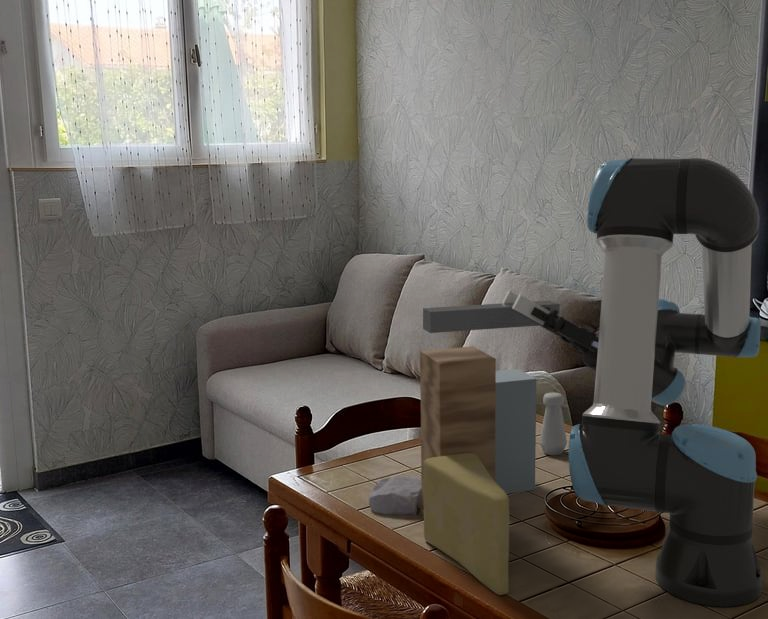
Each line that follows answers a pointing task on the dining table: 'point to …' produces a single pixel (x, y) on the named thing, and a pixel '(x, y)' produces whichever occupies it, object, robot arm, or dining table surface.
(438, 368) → the walnut stand
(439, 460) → the cheese
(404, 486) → the stone block
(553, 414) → the salt shaker
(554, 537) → the dining table surface
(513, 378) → the grey-blue block
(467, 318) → the steel bar
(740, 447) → the robot arm
